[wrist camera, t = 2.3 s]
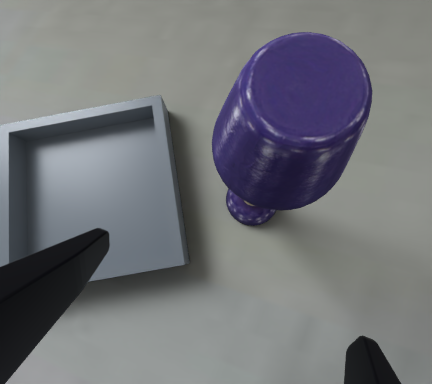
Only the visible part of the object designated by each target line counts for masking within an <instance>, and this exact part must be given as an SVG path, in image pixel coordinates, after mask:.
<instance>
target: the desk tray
mask: <svg viewBox="0 0 432 384" xmlns="http://www.w3.org/2000/svg"><path fill="white" fill-rule="evenodd" d="M95 228H101V229H104V230H106V231H108V232H109V239H110V247H109V251H108V253H107V254H106V256H105V257H104V259H103V260H102V262H101V263H100V265H99V266H98V268H97V269H96V271H95V272H94V274H93V275H92V277H91V278H90V280H89V281H95V280H101V279H106V278H112V277H118V276H123V275H129V274H135V273H140V272H146V271H152V270H157V269H163V268H169V267H174V266H180V265H185V264H188V263H190V260H189V253H188V246H187V239H186V233H185V226H184V219H183V212H182V205H181V198H180V191H179V185H178V178H177V171H176V164H175V157H174V150H173V144H172V137H171V130H170V123H169V116H168V110H167V108H166V106H165V103H164V101H163V99H162V97H161V95H157V96H151V97H146V98H141V99H136V100H130V101H125V102H120V103H114V104H109V105H104V106H99V107H93V108H88V109H83V110H77V111H72V112H67V113H61V114H56V115H51V116H46V117H40V118H35V119H30V120H24V121H19V122H14V123H9V124H3V125H0V267H1V266H3V265H6V264H8V263H11V262H13V261H16V260H18V259H21V258H23V257H26V256H28V255H31V254H33V253H36V252H38V251H41V250H43V249H46V248H48V247H51V246H53V245H56V244H58V243H60V242H63V241H65V240H68V239H70V238H73V237H75V236H78V235H80V234H83V233H85V232H88V231H90V230H93V229H95ZM89 281H88V282H89Z"/></svg>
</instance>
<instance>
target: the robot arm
mask: <svg viewBox="0 0 432 384" xmlns="http://www.w3.org/2000/svg"><path fill="white" fill-rule="evenodd" d="M109 247H110V239H109V232H108V231H106V230H104V229H101V228H95V229H93V230H90V231H88V232H85V233H83V234H80V235H78V236H75V237H73V238H70V239H68V240H65V241H63V242H60V243H58V244H56V245H53V246H51V247H48V248H46V249H43V250H41V251H38V252H36V253H33V254H31V255H28V256H26V257H23V258H21V259H18V260H16V261H13V262H11V263H8V264H6V265H3V266H1V267H0V384H5V383H6V382H7V381H8V379H9V378H10V377H11V376H12V375H13V373H14V372H15V371H16V370H17V369H18V367H19V366H20V365H21V364H22V363H23V361H24V360H25V359H26V358H27V357H28V355H29V354H30V353H31V352H32V350H33V349H34V348H35V347H36V346H37V344H38V343H39V342H40V341H41V340H42V338H43V337H44V336H45V335H46V334H47V332H48V331H49V330H50V329H51V328H52V326H53V325H54V324H55V323H56V321H57V320H58V319H59V318H60V317H61V315H62V314H63V313H64V312H65V311H66V309H67V308H68V307H69V306H70V305H71V303H72V302H73V301H74V300H75V298H76V297H77V296H78V295H79V294H80V292H81V291H82V290H83V288H84V287H85V286H86V284H87V283H88V281H89V280H90V278H91V277H92V275H93V274H94V272H95V271H96V269H97V268H98V266H99V265H100V263H101V262H102V260H103V259H104V257H105V256H106V254H107V253H108V251H109ZM344 384H401V382H400V381H399V379H398V377H397V376H396V374H395V372H394V371H393V369H392V367H391V366H390V364H389V362H388V361H387V359H386V357H385V356H384V354H383V352H382V350H381V349H380V347H379V345H378V344H377V343H376V341H374V340H373V339H370V338H368V337H365V336H359V337H358V338H357V339H356V340H355V341H354V342H353V343H352V344H351V345H350V346H349V347H348V349H347V352H346V362H345V377H344Z"/></svg>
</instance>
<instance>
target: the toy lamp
mask: <svg viewBox="0 0 432 384" xmlns="http://www.w3.org/2000/svg"><path fill="white" fill-rule="evenodd" d="M371 103H372V87H371V82H370V77H369V74H368V72H367V70H366V68H365V66H364V64H363V62H362V61H361V59H360V58H359V57H358V56H357V55H356V53H355V52H354V51H353V50H351V49H350V48H349V47H347V46H346V45H345V44H343V43H342V42H341V41H339V40H337V39H334V38H332V37H329V36H326V35H323V34H318V33H311V32H300V33H292V34H288V35H284V36H281V37H279V38H276V39H274V40H272V41H270V42H269V43H267V44H265V45H264V46H262V47H261V48H260V49H259V50H257V51H256V52H255V53H254V55H253V56H252V57H251V58H250V60H249V61H248V62H247V63H246V64H245V66H244V67H243V69H242V71H241V72H240V74H239V76H238V78H237V80H236V82H235V84H234V86H233V88H232V89H231V91H230V93H229V95H228V97H227V99H226V101H225V103H224V105H223V107H222V109H221V112H220V114H219V116H218V118H217V121H216V123H215V127H214V131H213V138H212V152H213V159H214V163H215V166H216V169H217V171H218V173H219V175H220V177H221V179H222V181H223V182H224V183H225V184H226V186H227V187H228V188H229V189H228V192H227V196H226V203H227V207H228V210H229V212H230V214H231V215H232V216H233V217H234V218H235V219H236V220H237V221H239V222H240V223H243V224H245V225H251V226H255V225H260V224H263V223H265V222H267V221H268V220H269V219H271V217H272V216H273V215H274V213H275V211H276V210H292V209H297V208H301V207H304V206H306V205H308V204H311V203H313V202H315V201H317V200H318V199H319V198H321V197H322V196H324V195H325V194H326V193H327V192H328V191H329V190H330V189H331V188H332V187H333V186H334V185H335V183H336V182H337V181H338V180H339V178H340V177H341V175H342V173H343V171H344V169H345V167H346V165H347V163H348V161H349V159H350V157H351V155H352V153H353V151H354V149H355V146H356V144H357V142H358V140H359V138H360V136H361V134H362V132H363V130H364V127H365V125H366V122H367V119H368V117H369V112H370V107H371Z"/></svg>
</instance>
